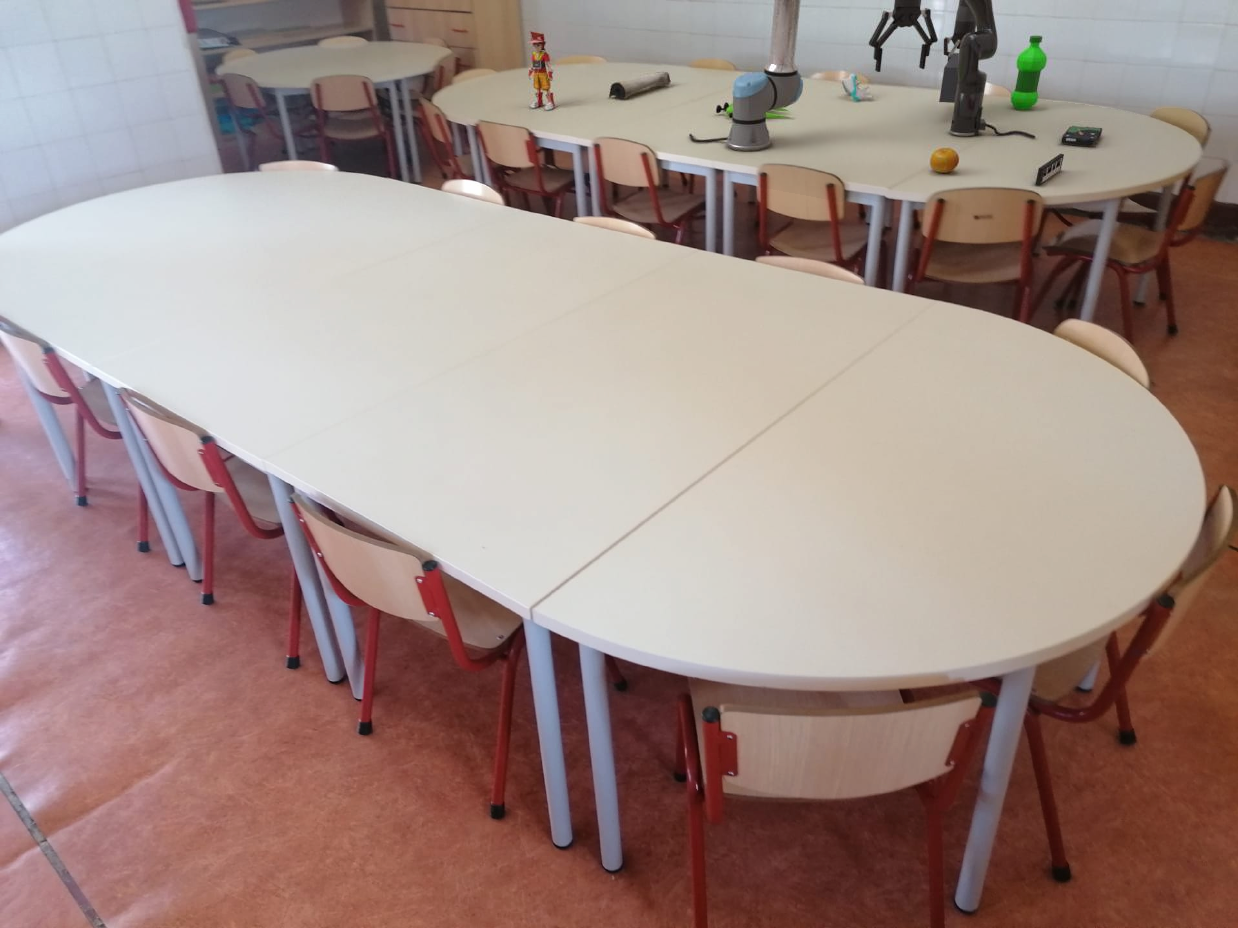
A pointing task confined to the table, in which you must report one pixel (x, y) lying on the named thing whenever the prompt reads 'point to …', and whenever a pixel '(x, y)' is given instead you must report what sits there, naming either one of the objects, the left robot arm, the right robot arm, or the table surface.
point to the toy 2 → (730, 111)
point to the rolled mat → (638, 84)
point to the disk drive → (1081, 136)
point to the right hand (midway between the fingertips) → (958, 67)
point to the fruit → (944, 160)
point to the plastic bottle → (1028, 75)
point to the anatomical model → (855, 88)
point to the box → (950, 80)
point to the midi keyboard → (1049, 169)
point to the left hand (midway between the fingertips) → (899, 70)
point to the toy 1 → (541, 71)
